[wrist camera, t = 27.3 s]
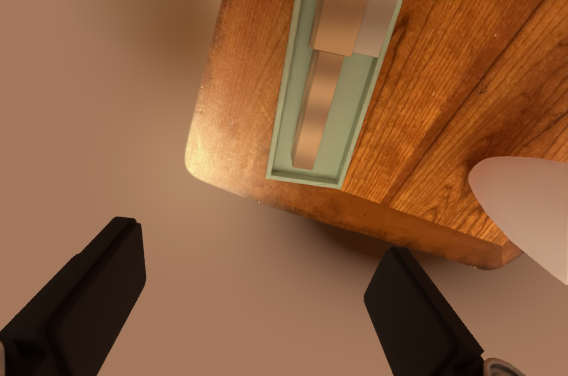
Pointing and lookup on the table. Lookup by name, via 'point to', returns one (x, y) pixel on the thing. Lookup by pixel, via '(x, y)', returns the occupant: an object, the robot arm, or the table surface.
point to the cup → (527, 206)
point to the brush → (334, 63)
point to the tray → (343, 111)
